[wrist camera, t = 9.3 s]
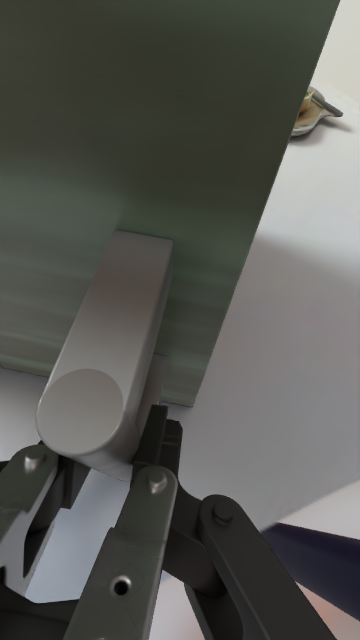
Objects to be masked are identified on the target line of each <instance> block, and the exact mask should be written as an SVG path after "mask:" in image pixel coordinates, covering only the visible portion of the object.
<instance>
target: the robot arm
mask: <svg viewBox="0 0 360 640" xmlns="http://www.w3.org/2000/svg"><path fill="white" fill-rule="evenodd" d="M167 414H168V407H166V406H161V405H155V404H152V405H151V408H150V411H149V414H148V417H147V421H146V424H145V427H144V430H143V433H142V436H141V439H140V443H139V447H138V449H137V452H136V455H135V458H134V461H133V469H132V476H131V483H130V490H129V493H128V495H127V498H126V500H125V503H124V505H123V508H122V510H121V513H120V515H119V518H118V520H117V523H116V525H115V527H114V528H113V527H111V528H110V529H109V531H108V533H107V535H106V537H105V539H104V542H103V544H102V546H101V549H100V551H99V554H98V556H97V558H96V561H95V563H94V566H93V568H92V570H91V573H90V575H89V578H88V580H87V582H86V585H85V587H84V590H83V592H82V594H81V597H80V599H77V600H67V601H58V602H48V603H34V602H31V601H30V600H28V599H27V598H25V593H26V590H27V588H28V585H29V583H30V581H31V578H32V576H33V574H34V571H35V569H36V567H37V565H38V562H39V560H40V558H41V555H42V553H43V551H44V549H45V546H46V544H47V542H48V539H49V537H50V535H51V533H52V530H53V528H54V522H55V517H56V515H57V513H58V511H59V509H60V508H66V509H71V507H72V505H73V503H74V501H75V499H76V497H77V495H78V493H79V491H80V489H81V487H82V485H83V483H84V481H85V479H86V477H87V475H88V473H89V471H90V469H91V468H90V467H88V466H86V465H83V464H81V463H78V462H76V461H74V460H71V459H69V458H67V457H64V456H62V455H60V454H58V453H55V452H54V451H52V450H51V449H49V448H48V447H47V446H46V445H45V444H44V442H43V441H42V440H41V441H40V442H39V443H38V444H37V445H32V446H28V447H25V448H23V449H21V450H20V451H18V452H17V453H16V454H15V455H14V456H13V457H12V458H11V460H10V461H1V462H0V640H148V639H149V635H150V629H151V624H152V619H153V614H154V608H155V604H156V599H157V594H158V589H159V584H160V578H161V573H162V570H164V571H166V572H167V573H169V574H171V575H172V576H174V577H176V578H177V579H179V580H180V581H182V582H184V587H185V591H186V594H187V596H188V599H189V601H190V604H191V606H192V609H193V611H194V613H195V616H196V618H197V620H198V623H199V626H200V628H201V630H202V633H203V635H204V638H205V640H337V639H336V638H335V637H334V635H333V634H332V632H331V631H330V630H329V628H328V627H327V625H326V624H325V623H324V622H323V620H322V618H321V617H320V616H319V614H318V613H317V612H316V610H315V609H314V607H313V606H312V605H311V603H310V602H309V600H308V599H307V598H306V596H305V595H304V594H303V592H302V591H301V589H300V588H299V587H298V585H297V584H296V582H295V581H294V580H293V578H292V577H291V576H290V574H289V573H288V571H287V570H286V569H285V567H284V566H283V564H282V563H281V562H280V560H279V559H278V558H277V556H276V555H275V553H274V552H273V551H272V549H271V548H270V546H269V545H268V544H267V542H266V541H265V540H264V538H263V537H262V535H261V534H260V533H259V531H258V530H257V528H256V527H255V526H254V524H253V523H252V522H251V520H250V519H249V517H248V516H247V515H246V513H245V512H244V510H243V509H242V508H241V507H240V505H239V504H238V503H237V502H235V501H234V500H233V499H231V498H229V497H226V496H223V495H210V496H207V497H206V498H204V499H203V500H202V501H201V500H199V499H197V498H195V497H193V496H191V495H190V494H188V493H187V492H186V491H185V490H184V489H183V488H182V486H181V485H180V483H179V480H178V469H179V460H180V450H181V441H182V432H183V429H182V427H181V425H180V423H179V421H176V420H170V419H167Z"/></svg>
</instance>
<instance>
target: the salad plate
mask: <svg viewBox="0 0 360 640" xmlns="http://www.w3.org/2000/svg"><path fill="white" fill-rule="evenodd" d="M342 115H343V113H342V112H341V111H340V110H338V109H336V108H335V107H333V106H331V105H330V104H328V103H327V102H325V99H324V97H323V96H322V94H321V93H320V92H319V91H318V90H316V89H315V88H313V87H311V86H309V88H308V90H307V93H306V96H305V99H304V101H303V104H302V107H301V110H300V112H299V115H298V118H297V121H296V123H295V126H294V129H293V132H292V134H291V137H293V136H300V135H303V134H306V133H307V132H309V131H310V130H312V129H313V128H314V126H315V125H316V124H317V122H318V121H319V120H320V119H321V118H323V117H326V116H333V117H341V116H342Z"/></svg>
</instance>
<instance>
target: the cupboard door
mask: <svg viewBox="0 0 360 640" xmlns="http://www.w3.org/2000/svg"><path fill="white" fill-rule="evenodd" d="M339 2H340V0H0V367H2V368H7V369H12V370H17V371H21V372H26V373H31V374H36V375H41V376H45V377H49V380H48V382H47V384H46V386H45V389H44V391H43V393H42V396H41V398H40V400H39V403H38V406H37V410H36V427H37V431H38V434H39V436H40V438H41V440H42V441H43V442H44V444H45V445H46V446H47V447H48V448H49V449H51V450H52V451H54V452H55V453H58V454H60V455H62V456H64V457H67V458H69V459H71V460H74V461H76V462H78V463H81V464H83V465H86V466H88V467H90V468H93V469H95V470H97V471H100V472H102V473H104V474H107V475H109V476H111V477H114V478H116V479H119V480H121V481H131V476H132V469H133V461H134V458H135V455H136V452H137V449H138V447H139V443H140V439H141V436H142V433H143V430H144V427H145V424H146V421H147V417H148V414H149V411H150V408H151V405H152V404H155V405H159V403H160V401H165V402H170V403H175V404H180V405H184V406H189V407H193V404H194V401H195V398H196V396H197V393H198V390H199V387H200V385H201V382H202V379H203V376H204V374H205V371H206V368H207V365H208V363H209V360H210V357H211V354H212V352H213V349H214V346H215V343H216V341H217V338H218V335H219V332H220V330H221V327H222V324H223V321H224V319H225V316H226V313H227V310H228V308H229V305H230V302H231V299H232V297H233V294H234V291H235V288H236V286H237V283H238V280H239V277H240V275H241V272H242V269H243V266H244V264H245V261H246V258H247V255H248V253H249V250H250V247H251V244H252V242H253V239H254V236H255V233H256V231H257V228H258V225H259V222H260V220H261V217H262V214H263V211H264V209H265V206H266V203H267V200H268V198H269V195H270V192H271V189H272V187H273V184H274V181H275V178H276V176H277V173H278V170H279V167H280V165H281V162H282V159H283V156H284V154H285V151H286V148H287V145H288V143H289V140H290V137H291V134H292V132H293V129H294V126H295V123H296V121H297V118H298V115H299V112H300V110H301V107H302V104H303V101H304V99H305V96H306V93H307V90H308V88H309V85H310V82H311V79H312V77H313V74H314V71H315V68H316V66H317V63H318V60H319V57H320V54H321V52H322V49H323V46H324V43H325V41H326V38H327V35H328V32H329V30H330V27H331V24H332V21H333V19H334V16H335V13H336V10H337V8H338V5H339Z"/></svg>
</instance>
